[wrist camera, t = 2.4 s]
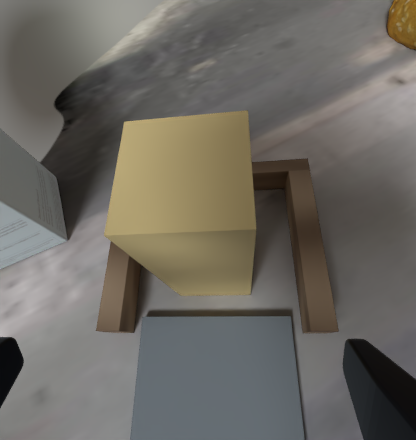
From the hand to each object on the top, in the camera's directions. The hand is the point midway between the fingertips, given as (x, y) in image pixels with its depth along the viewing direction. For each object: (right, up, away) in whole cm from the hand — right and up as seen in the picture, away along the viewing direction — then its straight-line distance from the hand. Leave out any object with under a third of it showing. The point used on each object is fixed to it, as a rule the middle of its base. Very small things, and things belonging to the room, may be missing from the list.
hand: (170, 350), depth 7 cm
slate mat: (+2, -8, +10) cm, 12 cm away
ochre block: (+2, 0, +13) cm, 13 cm away
